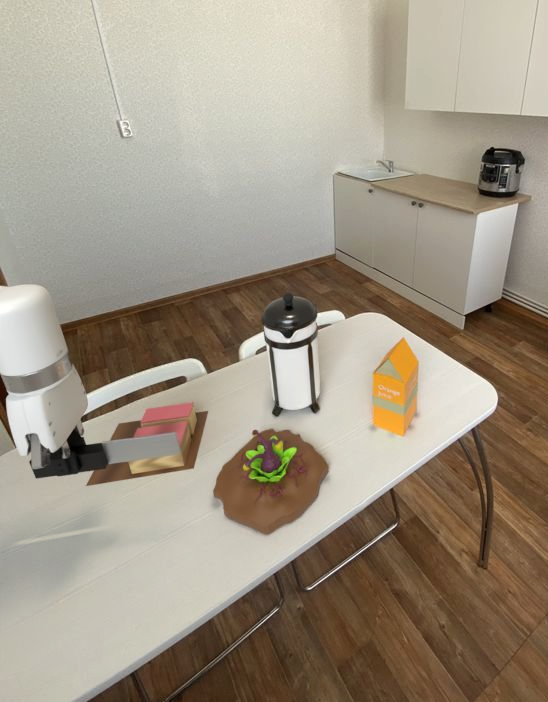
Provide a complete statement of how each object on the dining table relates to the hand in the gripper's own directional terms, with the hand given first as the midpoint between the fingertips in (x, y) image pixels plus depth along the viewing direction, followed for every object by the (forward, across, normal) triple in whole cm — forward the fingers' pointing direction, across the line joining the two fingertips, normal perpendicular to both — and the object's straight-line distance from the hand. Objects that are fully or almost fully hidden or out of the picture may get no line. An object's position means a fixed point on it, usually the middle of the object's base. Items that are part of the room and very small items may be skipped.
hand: (73, 465), depth 61 cm
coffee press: (+17, -29, +34) cm, 48 cm away
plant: (+17, -6, +29) cm, 34 cm away
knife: (+1, 0, +6) cm, 6 cm away
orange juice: (+17, -17, +57) cm, 62 cm away
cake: (+17, -18, +3) cm, 25 cm away
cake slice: (+16, -21, +6) cm, 27 cm away
